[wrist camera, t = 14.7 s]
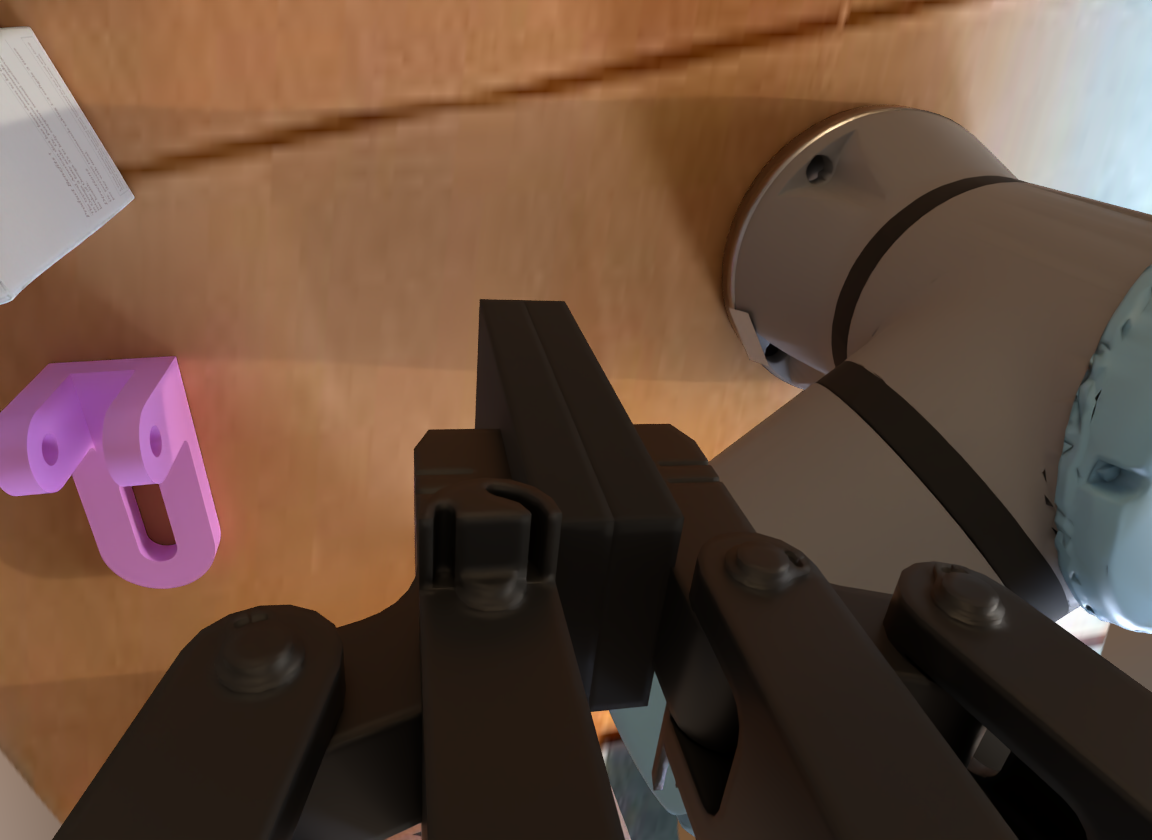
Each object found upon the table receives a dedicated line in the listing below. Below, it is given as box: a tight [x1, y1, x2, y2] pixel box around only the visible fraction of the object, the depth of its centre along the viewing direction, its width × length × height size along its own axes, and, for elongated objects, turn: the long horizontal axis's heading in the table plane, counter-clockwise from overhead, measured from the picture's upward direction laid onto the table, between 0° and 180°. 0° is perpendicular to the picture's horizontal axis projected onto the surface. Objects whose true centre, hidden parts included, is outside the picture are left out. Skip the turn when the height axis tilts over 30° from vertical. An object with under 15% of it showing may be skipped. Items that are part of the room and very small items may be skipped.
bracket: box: [0, 356, 221, 589], centre depth 36 cm, size 13×6×7 cm, turn 179°
